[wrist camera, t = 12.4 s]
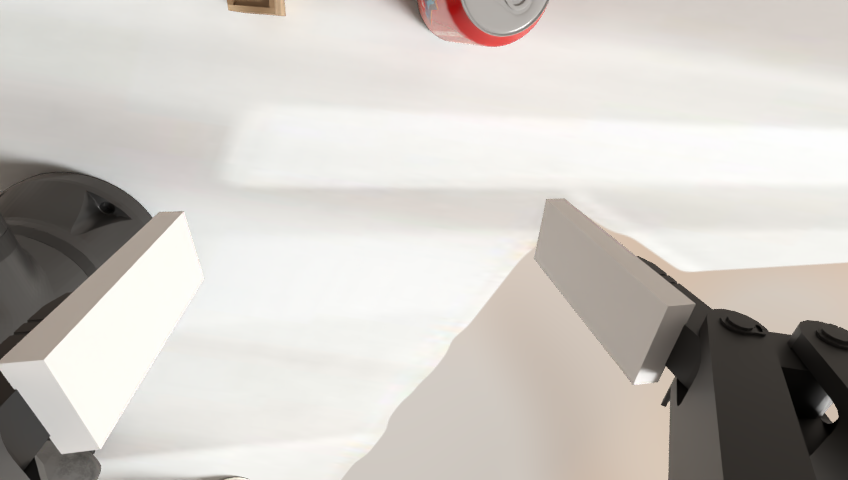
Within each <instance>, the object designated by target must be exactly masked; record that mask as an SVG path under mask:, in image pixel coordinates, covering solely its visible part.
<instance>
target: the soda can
mask: <svg viewBox="0 0 848 480" xmlns="http://www.w3.org/2000/svg"><path fill="white" fill-rule="evenodd" d="M548 2H549V0H418V7H419V11H420V14H421V17H422V19H423V21H424V23H425V24H426V26H427V27H428V28H429V30H430V31H431V32H432V33H433V34H435V35H436V36H437V37H439V38H441V39H443V40H445V41H449V42H455V43H463V44H471V45H479V46H488V47H497V46H503V45H507V44H510V43H512V42H514V41H516V40H518V39H520V38H521V37H523V36H524V35H526V34H527V33H528V32H529V31H530V30H531V29H532V28H533V27H534V26H535V25H536V23H537V22H538V21H539V19H540V18H541V16H542V15H543V13H544V11H545V9H546V7H547V4H548Z"/></svg>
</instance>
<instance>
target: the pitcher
mask: <svg viewBox="0 0 848 480" xmlns="http://www.w3.org/2000/svg"><path fill="white" fill-rule="evenodd" d="M94 452H95V450H92V451H83V452H75V453H67V454H61V453H60V452H59V450H58V449H57V448H56V446H55V445H54V443H53V442H52V441H51V439H50V438H48V439H47V441H46V442H45V443H44V445H43V446H42V447H41V449H40V450H39V451H38V453H37V454H36V456H37V457H38V458H39V459H40V461H41V462H42V463H43V465H44V468H45V472H46V475H47V479H48V480H97V478H98V476H99V474H100V471H101V465H100V463H99V461H98V460H97V459H96V458H95V456H94V455H93V454H94Z"/></svg>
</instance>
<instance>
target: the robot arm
mask: <svg viewBox="0 0 848 480" xmlns="http://www.w3.org/2000/svg"><path fill="white" fill-rule="evenodd" d="M534 259H535V260H536V262H537V263H538V264H539V266H540V267H541V268H542V269H543V271H544V272H545V273H546V274H547V276H548V277H549V278H550V280H551V281H552V282H553V283H554V285H555V286H556V287H557V288H558V290H559V291H560V292H561V294H562V295H563V296H564V297H565V299H566V300H567V301H568V302H569V304H570V305H571V306H572V308H573V309H574V310H575V311H576V313H577V314H578V315H579V317H580V318H581V319H582V320H583V322H584V323H585V324H586V326H587V327H588V328H589V329H590V331H591V332H592V333H593V334H594V336H595V337H596V338H597V340H598V341H599V342H600V343H601V345H602V346H603V347H604V348H605V350H606V351H607V352H608V354H609V355H610V356H611V357H612V359H613V360H614V361H615V362H616V364H617V365H618V366H619V367H620V369H621V370H622V371H623V373H624V374H625V375H626V376H627V378H628V379H629V380H630V382H631V383H632V384H633V385H637V384H646V383H654V382H658V381H659V379H660V377H661V374H662V373H663V370H664V368H665V366H667V367H668V369H669V370H670V371H671V372H672V373H673V374H674V375H675V378H674V380H673V382H672V384H671V386H670V388H669V389H668V391H667V393H666V395H665V397H664V399H663V402H662V404H661V405H662V406H665V407H666V405H667V403H668V402H669V401H670V435H669V478H668V480H848V331H847V330H845V329H843V328H841V327H839V328H838V326H835V325H832V324H827V323H823V322H819V321H809V320H807V321H803V322H800V324H799V325H798V326H797V328H796V329H795V331H794V332H793V334H792V335H787V334H780V333H773V332H768V330H767V329H766V328H765V327H764V326H762V325H761V324H760V323H759V322H757V321H755V320H753V319H752V318H750V317H748V316H746V315H743V314H740V313H738V312H735V311H730V310H726V309H714V310H713V309H711V308H710V307H709V306H707V305H706V304H705V303H704V302H702V301H701V300H700V299H698V298H697V297H696V296H695V295H693V294H692V293H691V292H689V291H688V290H687V289H686V288H684V287H683V286H682V285H680V284H677V282H676V281H675V280H674V279H673V278H671V277H670V276H667V274H666V273H665V272H664V271H663V270H661V269H660V268H658V267H657V266H656V265H655V264H653V263H651V262H649V261H647V260H645V259H643V258H641V257H639V256H635V255H634V254H633V253H632V252H630V251H629V250H628V249H627V248H625V247H624V246H623V245H622V244H620V243H619V242H618V241H617V240H616V239H614V238H613V237H612V236H611V235H609V234H608V233H607V232H606V231H604V230H603V229H601V227H599V226H598V225H597V224H596V223H594V222H593V221H592V220H591V219H589V218H588V217H587V216H586V215H584V214H583V213H582V212H581V211H579V210H578V209H577V208H576V207H574V206H573V205H572V204H571V203H569V202H568V201H567V200H566V199H546V203H545V208H544V213H543V218H542V223H541V227H540V232H539V237H538V242H537V247H536V252H535V256H534ZM203 280H204V276H203V272H202V269H201V266H200V263H199V259H198V256H197V253H196V249H195V246H194V243H193V240H192V236H191V233H190V230H189V226H188V223H187V220H186V217H185V213H184V211H179V212H159V213H158V214H157V215H156V216H154V217H153V218H152V217H151V215H150V214H149V213H148V212H147V211H146V209H145V208H144V207H143V206H142V205H141V204H140V203H138V202H137V201H136V200H135V199H134V198H132V197H131V196H130V195H128V194H127V193H125V192H124V191H122V190H120V189H119V188H117V187H115V186H113V185H111V184H109V183H107V182H104V181H102V180H99V179H96V178H93V177H89V176H85V175H81V174H75V173H63V172H56V173H46V174H41V175H37V176H33V177H31V178H28V179H26V180H24V181H22V182H19V183H17V184H15V185H13V186H11V187H9V188H8V189H6V190H5V191H3V192H2V193H1V194H0V480H48V479H47V475H46V472H45V468H44V465H43V463H42V462H41V461H40V459H39V458H38V457H37V456H36V454H37V453H38V451H39V450H40V449H41V447H42V446H43V445H44V443H45V442H46V441H47V439H48V438H50V439H51V441H52V442H53V443H54V445H55V446H56V448H57V449H58V450H59V452H60V453H61V454H67V453H75V452H83V451H92V450H100V449H101V448H102V446H103V445H104V443H105V441H106V440H107V438H108V436H109V435H110V433H111V431H112V430H113V428H114V427H115V425H116V423H117V422H118V420H119V418H120V417H121V415H122V413H123V412H124V410H125V408H126V407H127V405H128V403H129V402H130V400H131V398H132V397H133V395H134V394H135V392H136V390H137V389H138V387H139V385H140V384H141V382H142V380H143V379H144V377H145V375H146V374H147V372H148V370H149V369H150V367H151V366H152V364H153V362H154V361H155V359H156V357H157V356H158V354H159V352H160V351H161V349H162V347H163V346H164V344H165V342H166V341H167V339H168V338H169V336H170V334H171V333H172V331H173V329H174V328H175V326H176V324H177V323H178V321H179V319H180V318H181V316H182V314H183V313H184V311H185V309H186V308H187V306H188V305H189V303H190V301H191V300H192V298H193V296H194V295H195V293H196V291H197V290H198V288H199V286H200V285H201V283H202V281H203ZM833 403H834V404H835V406H836V408H837V410H838V415H839V418H838V419H837V420H836V421H835V422H834V423H832V422H831V421H830V420H829V418H828V417H827V415H826V414H825V412H826V411H827V409H828V408H829V407H830V406H831V405H832V404H833Z"/></svg>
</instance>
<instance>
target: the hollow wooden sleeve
mask: <svg viewBox="0 0 848 480" xmlns="http://www.w3.org/2000/svg"><path fill="white" fill-rule="evenodd" d="M227 3H228V10H230V11H236V12H243V13H253V14H265V15H278V16H286V13H285V3H284V0H227Z"/></svg>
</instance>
